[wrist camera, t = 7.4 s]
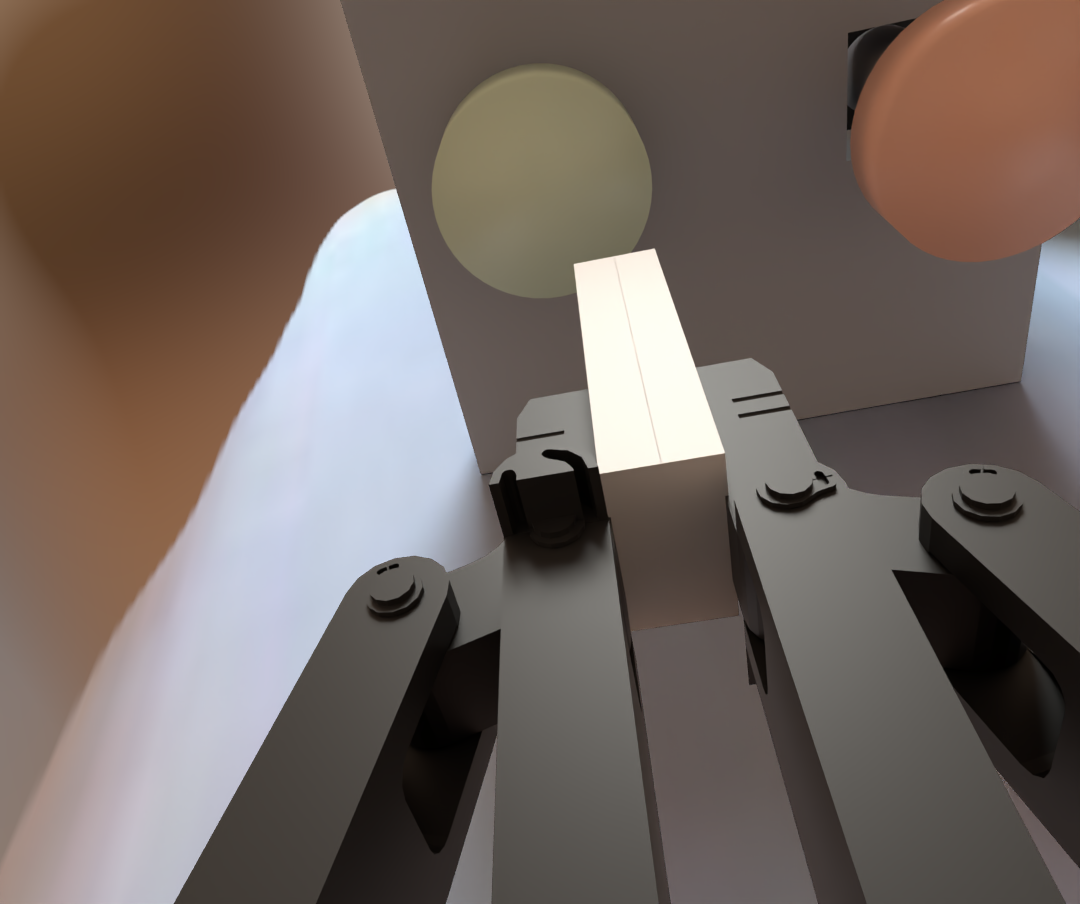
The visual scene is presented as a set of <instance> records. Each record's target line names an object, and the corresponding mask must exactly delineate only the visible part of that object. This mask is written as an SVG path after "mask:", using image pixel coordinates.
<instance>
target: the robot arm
mask: <svg viewBox="0 0 1080 904" xmlns="http://www.w3.org/2000/svg"><path fill="white" fill-rule="evenodd" d="M574 271H575V279H576V288H577V296H578V305H579V313H580V321H581V330H582V338H583V347H584V355H585V364H586V372H587V381H588V389H586V390H580V391H574V392H569V393H563V394H557V395H552V396H546V397H540V398H535V399H530V400H529V401H528V403H527V404H526V406H525V407H524V409H523V410H522V412H521V413H520V415H519V416H518V418H517V437H516V439H517V442H516V454H515V455H513V456H511V457H509V458H507V459H506V460H505V461H504V462H503V463H502V464H501V465H500V466H499V467H498V468H497V469H496V470H495V471H494V472H493V475H492V477H491V480H490V483H489V487H490V491H491V494H492V498H493V501H494V504H495V508H496V511H497V515H498V518H499V521H500V525H501V528H502V532H503V535H504V541H503V542H502V543H501V544H500V545H499V546H498V547H497V548H496V549H494V550H493V551H492V552H490V553H489V554H488V555H486V556H485V557H483V558H481V559H479V560H477V561H475V562H473V563H470V564H468V565H465V566H463V567H460V568H458V569H455V570H453V571H451V572H448V573H446V571H445V569H444V567H443V566H441V565H440V564H438V563H437V562H435V561H434V560H432V559H430V558H424V557H418V556H410V557H402V558H395V559H392V560H389V561H387V562H384V563H382V564H379V565H377V566H375V567H373V568H372V569H370V570H369V571H368V572H366V573H365V574H363V575H362V576H361V577H359V578H358V579H357V580H356V582H355V583H354V584H353V585H352V586H351V588H350V589H349V590H348V591H347V593H346V594H345V596H344V598H343V600H342V602H341V603H340V605H339V607H338V609H337V611H336V612H335V614H334V616H333V618H332V620H331V621H330V623H329V625H328V627H327V629H326V630H325V632H324V634H323V636H322V638H321V639H320V641H319V643H318V645H317V647H316V648H315V650H314V652H313V654H312V656H311V657H310V659H309V661H308V663H307V665H306V666H305V668H304V670H303V672H302V674H301V675H300V677H299V679H298V681H297V683H296V684H295V686H294V688H293V690H292V692H291V693H290V695H289V697H288V699H287V701H286V703H285V704H284V706H283V708H282V710H281V712H280V713H279V715H278V717H277V719H276V721H275V722H274V724H273V726H272V728H271V730H270V731H269V733H268V735H267V737H266V739H265V740H264V742H263V744H262V746H261V748H260V749H259V751H258V753H257V755H256V757H255V758H254V760H253V762H252V764H251V766H250V767H249V769H248V771H247V773H246V775H245V776H244V778H243V780H242V782H241V784H240V785H239V787H238V789H237V791H236V793H235V794H234V796H233V798H232V800H231V802H230V803H229V805H228V807H227V809H226V811H225V812H224V814H223V816H222V818H221V820H220V821H219V823H218V825H217V827H216V829H215V830H214V832H213V834H212V836H211V838H210V839H209V841H208V843H207V845H206V847H205V848H204V850H203V852H202V854H201V856H200V857H199V859H198V861H197V863H196V865H195V866H194V868H193V870H192V872H191V874H190V875H189V877H188V879H187V881H186V883H185V884H184V886H183V888H182V890H181V892H180V893H179V895H178V897H177V899H176V901H175V902H174V904H446V901H447V898H448V894H449V891H450V888H451V885H452V881H453V878H454V875H455V871H456V868H457V865H458V861H459V858H460V855H461V852H462V848H463V845H464V842H465V838H466V835H467V832H468V829H469V825H470V822H471V819H472V815H473V812H474V809H475V805H476V802H477V799H478V796H479V792H480V789H481V786H482V782H483V779H484V776H485V773H486V769H487V766H488V763H489V759H490V756H491V753H492V749H493V746H494V743H495V740H496V736H497V759H496V788H495V818H494V848H493V878H492V904H671V902H670V895H669V888H668V881H667V874H666V867H665V860H664V853H663V846H662V839H661V832H660V825H659V818H658V811H657V804H656V797H655V790H654V783H653V776H652V769H651V762H650V755H649V747H648V740H647V733H646V726H645V719H644V712H643V705H642V698H641V691H640V684H639V677H638V670H637V663H636V658H635V652H634V647H633V642H632V637H631V631H636V630H643V629H650V628H657V627H664V626H670V625H677V624H684V623H691V622H698V621H705V620H712V619H718V618H725V617H732V616H739V609H738V600H739V604H740V607H741V610H742V614H743V617H744V627H745V640H746V652H747V664H748V676H749V685H752V684H757V687H758V691H759V694H760V698H761V701H762V705H763V708H764V712H765V716H766V719H767V723H768V726H769V730H770V733H771V737H772V740H773V744H774V748H775V751H776V755H777V758H778V762H779V765H780V769H781V772H782V776H783V780H784V783H785V787H786V790H787V794H788V797H789V801H790V805H791V808H792V812H793V815H794V819H795V822H796V826H797V829H798V833H799V837H800V840H801V844H802V847H803V851H804V854H805V858H806V862H807V865H808V869H809V872H810V876H811V879H812V883H813V886H814V890H815V894H816V897H817V901H818V904H1066V903H1065V901H1064V899H1063V897H1062V895H1061V893H1060V891H1059V889H1058V888H1057V886H1056V884H1055V882H1054V880H1053V878H1052V876H1051V874H1050V872H1049V870H1048V868H1047V867H1046V865H1045V863H1044V861H1043V859H1042V857H1041V855H1040V853H1039V851H1038V849H1037V847H1036V846H1035V844H1034V842H1033V840H1032V838H1031V836H1030V834H1029V832H1028V830H1027V828H1026V826H1025V824H1024V823H1023V821H1022V819H1021V817H1020V815H1019V813H1018V811H1017V809H1016V807H1015V805H1014V803H1013V802H1012V800H1011V798H1010V796H1009V794H1008V792H1007V790H1006V788H1005V786H1004V784H1003V782H1002V781H1001V779H1000V777H999V775H998V773H997V771H998V772H999V773H1000V774H1001V775H1002V776H1003V778H1004V779H1005V780H1006V781H1007V782H1008V784H1009V785H1010V786H1011V787H1012V788H1013V790H1014V791H1015V792H1016V793H1017V794H1018V795H1019V797H1020V798H1021V799H1022V800H1023V801H1024V803H1025V804H1026V805H1027V806H1028V807H1029V809H1030V810H1031V811H1032V812H1033V813H1034V815H1035V816H1036V817H1037V818H1038V819H1039V820H1040V822H1041V823H1042V824H1043V825H1044V826H1045V828H1046V829H1047V830H1048V831H1049V832H1050V834H1051V835H1052V836H1053V837H1054V838H1055V839H1056V841H1057V842H1058V843H1059V844H1060V845H1061V847H1062V848H1063V849H1064V850H1065V851H1066V853H1067V854H1068V855H1069V856H1070V857H1071V859H1072V860H1073V861H1074V862H1075V863H1076V864H1077V866H1078V867H1079V868H1080V511H1078V510H1077V509H1076V508H1074V507H1073V506H1072V505H1070V504H1069V503H1067V502H1066V501H1065V500H1063V499H1062V498H1061V497H1059V496H1058V495H1057V494H1055V493H1054V492H1052V491H1051V490H1050V489H1048V488H1047V487H1046V486H1044V485H1043V484H1042V483H1040V482H1039V481H1037V480H1035V479H1033V478H1031V477H1029V476H1027V475H1025V474H1023V473H1022V472H1020V471H1017V470H1013V469H1009V468H1005V467H1001V466H997V465H984V464H966V465H961V466H956V467H950V468H946V469H944V470H943V471H941V472H939V473H937V474H935V475H933V476H931V477H930V478H929V479H928V481H927V482H926V483H925V485H924V486H923V488H922V489H921V497H905V496H887V495H878V494H870V493H865V492H861V491H858V490H854V489H850V488H848V486H847V484H846V482H845V481H844V480H843V479H842V478H841V477H840V475H839V474H838V473H837V472H836V471H835V470H834V469H832V468H830V467H828V466H826V465H823V464H821V463H819V462H818V461H817V459H816V457H815V455H814V453H813V451H812V449H811V447H810V445H809V443H808V441H807V439H806V437H805V435H804V433H803V431H802V429H801V427H800V425H799V423H798V421H797V419H796V417H795V415H794V413H793V411H792V409H791V410H790V405H789V403H788V401H787V399H786V397H785V395H784V394H783V393H782V389H781V387H780V385H779V383H778V381H777V379H776V377H775V375H774V373H773V372H772V371H771V370H769V369H768V368H766V367H765V366H763V365H761V364H760V363H758V362H757V361H755V360H754V359H752V358H748V359H742V360H737V361H731V362H725V363H720V364H714V365H708V366H703V367H697V368H696V367H695V364H694V361H693V359H692V356H691V353H690V350H689V347H688V344H687V341H686V338H685V335H684V332H683V330H682V327H681V324H680V321H679V318H678V315H677V312H676V309H675V306H674V303H673V300H672V298H671V295H670V292H669V289H668V286H667V283H666V280H665V277H664V274H663V271H662V269H661V266H660V263H659V260H658V257H657V254H656V251H655V249H650V250H644V251H639V252H634V253H629V254H624V255H618V256H613V257H608V258H603V259H598V260H592V261H587V262H582V263H577V264H574ZM995 768H996V769H997V771H996V769H995Z"/></svg>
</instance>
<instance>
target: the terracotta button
mask: <svg viewBox="0 0 1080 904" xmlns="http://www.w3.org/2000/svg"><path fill="white" fill-rule="evenodd" d="M847 105H848V106H849V107H850V108H852V109H853V110H855V112H854V117H853V122H852V127H851V139H850V150H851V161H852V166H853V172H854V175H855V178H856V181H857V183H858V186H859V188H860V190H861V192H862V193H863V195H864V197H865V199H866V200H867V201H868V202H869V204H870V205H871V206H872V208H873V209H875V210H876V211H877V212H878V213H879V214H880V215H881V216H882V217H883V218H884V219H885V220H886V221H888V222H889V223H890V224H891V225H892V226H893V227H894V228H895V229H896V230H897V231H898V232H899V233H901V234H902V235H903V236H904V237H905V238H906V239H907V240H908V241H909V242H910V243H911V244H913V245H915V246H916V247H918V248H919V249H921V250H922V251H924V252H926V253H929V254H931V255H933V256H936V257H939V258H943V259H947V260H951V261H959V262H983V261H991V260H997V259H1001V258H1005V257H1009V256H1013V255H1016V254H1018V253H1021V252H1024V251H1027V250H1029V249H1031V248H1033V247H1035V246H1038V245H1040V244H1042V243H1044V242H1046V241H1047V240H1049V239H1051V238H1052V237H1054V236H1056V235H1057V234H1059V233H1060V232H1062V231H1063V230H1065V229H1066V228H1067V227H1069V226H1070V225H1071V224H1073V223H1074V222H1075V221H1077V220H1078V219H1079V218H1080V0H944V1H942V2H940V3H938V4H937V5H935V6H933V7H931V8H930V9H929V10H927V11H926V12H925V13H923V14H922V15H920V16H919V17H918V18H916V19H915V20H914V21H913V22H912V23H911V24H910V25H908V26H907V27H906V28H903V27H900V26H896V25H882V26H878V27H875V28H872V29H870V30H868V31H866V32H865V33H863V34H862V35H861V36H859V37H858V38H857V39H856V40H855V41H854V42H853V43H852V44H851V45H850V47H849V48H848V70H847Z"/></svg>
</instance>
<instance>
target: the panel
mask: <svg viewBox="0 0 1080 904" xmlns="http://www.w3.org/2000/svg"><path fill="white" fill-rule="evenodd" d="M340 1H341V4H342V8H343V11H344V14H345V18H346V21H347V24H348V28H349V31H350V34H351V38H352V41H353V44H354V48H355V51H356V55H357V58H358V61H359V65H360V68H361V72H362V75H363V78H364V82H365V85H366V89H367V92H368V95H369V99H370V102H371V105H372V109H373V112H374V115H375V119H376V122H377V126H378V129H379V132H380V136H381V139H382V142H383V146H384V149H385V153H386V156H387V159H388V163H389V166H390V169H391V173H392V176H393V180H394V183H395V186H396V190H397V193H398V196H399V200H400V203H401V207H402V210H403V213H404V217H405V220H406V223H407V227H408V230H409V233H410V237H411V240H412V244H413V247H414V250H415V254H416V257H417V260H418V264H419V267H420V271H421V274H422V277H423V281H424V284H425V287H426V291H427V294H428V298H429V301H430V304H431V308H432V311H433V314H434V318H435V321H436V325H437V328H438V331H439V335H440V338H441V341H442V345H443V348H444V351H445V355H446V358H447V362H448V365H449V368H450V372H451V375H452V378H453V382H454V385H455V389H456V392H457V395H458V399H459V402H460V405H461V409H462V412H463V416H464V419H465V422H466V426H467V429H468V432H469V436H470V439H471V443H472V446H473V449H474V453H475V456H476V459H477V463H478V466H479V469H480V473H481V474H486V473H491V472H494V471H495V470H496V469H497V468H498V467H499V466H500V465H501V464H502V463H503V462H504V461H505V460H506V459H507V458H509V457H511V456H513V455H515V454H516V442H517V439H516V437H517V418H518V416H519V415H520V413H521V412H522V410H523V409H524V407H525V406H526V404H527V403H528V401H529V400H530V399H535V398H540V397H546V396H552V395H557V394H563V393H569V392H574V391H580V390H586V389H588V381H587V372H586V364H585V355H584V347H583V338H582V330H581V321H580V313H579V305H578V296H577V293H574V294H570V295H566V296H562V297H554V298H528V297H521V296H517V295H512V294H509V293H506V292H503V291H501V290H498V289H496V288H494V287H492V286H490V285H488V284H486V283H484V282H483V281H481V280H480V279H478V278H477V277H475V276H474V275H473V274H472V273H471V272H469V271H468V270H467V269H466V268H465V267H464V266H463V265H462V264H461V263H460V262H459V261H458V259H457V258H456V257H455V256H454V255H453V253H452V252H451V250H450V249H449V247H448V246H447V244H446V242H445V240H444V238H443V236H442V234H441V232H440V229H439V227H438V224H437V221H436V218H435V213H434V208H433V202H432V175H433V169H434V164H435V160H436V156H437V153H438V150H439V147H440V144H441V140H442V137H443V134H444V131H445V128H446V126H447V124H448V122H449V120H450V118H451V116H452V114H453V113H454V111H455V110H456V108H457V107H458V105H459V104H460V103H461V101H462V100H463V99H464V98H465V97H466V96H467V95H468V94H469V93H470V92H471V91H472V90H473V89H474V88H475V87H477V86H478V85H479V84H480V83H482V82H483V81H485V80H486V79H488V78H489V77H491V76H493V75H495V74H497V73H499V72H501V71H503V70H506V69H509V68H512V67H516V66H519V65H526V64H533V63H549V64H556V65H563V66H566V67H570V68H573V69H576V70H579V71H581V72H583V73H585V74H587V75H590V76H591V77H593V78H594V79H596V80H597V81H599V82H601V83H602V84H603V85H604V86H605V87H607V88H608V89H609V90H610V91H611V92H612V93H613V94H614V95H615V96H616V97H617V98H618V99H619V100H620V102H621V103H622V104H623V106H624V107H625V109H626V110H627V112H628V113H629V115H630V117H631V119H632V121H633V123H634V125H635V127H636V129H637V131H638V133H639V136H640V138H641V140H642V142H643V144H644V147H645V150H646V153H647V156H648V159H649V164H650V169H651V175H652V198H651V206H650V211H649V215H648V219H647V222H646V225H645V228H644V230H643V232H642V234H641V236H640V238H639V240H638V242H637V244H636V246H635V247H634V249H633V250H632V252H631V253H634V252H639V251H644V250H650V249H655V251H656V254H657V257H658V260H659V263H660V266H661V269H662V271H663V274H664V277H665V280H666V283H667V286H668V289H669V292H670V295H671V298H672V300H673V303H674V306H675V309H676V312H677V315H678V318H679V321H680V324H681V327H682V330H683V332H684V335H685V338H686V341H687V344H688V347H689V350H690V353H691V356H692V359H693V361H694V364H695V367H696V368H697V367H703V366H708V365H714V364H720V363H725V362H731V361H737V360H742V359H748V358H752V359H754V360H755V361H757V362H758V363H760V364H761V365H763V366H765V367H766V368H768V369H769V370H771V371H772V372H773V373H774V375H775V377H776V379H777V381H778V383H779V385H780V387H781V389H782V393H783V394H784V395H785V397H786V399H787V401H788V403H789V405H790V410H791V409H792V411H793V413H794V415H795V417H796V419H797V420H799V419H804V418H810V417H816V416H822V415H828V414H833V413H839V412H845V411H851V410H857V409H862V408H868V407H874V406H880V405H885V404H891V403H897V402H903V401H909V400H914V399H920V398H926V397H932V396H938V395H943V394H949V393H955V392H961V391H967V390H972V389H978V388H984V387H990V386H996V385H1001V384H1007V383H1013V382H1019V381H1021V377H1022V370H1023V364H1024V357H1025V350H1026V344H1027V337H1028V331H1029V324H1030V317H1031V311H1032V304H1033V298H1034V291H1035V285H1036V278H1037V271H1038V265H1039V258H1040V252H1041V245H1042V244H1040V245H1038V246H1035V247H1033V248H1031V249H1029V250H1027V251H1024V252H1021V253H1018V254H1016V255H1013V256H1009V257H1005V258H1001V259H997V260H991V261H983V262H959V261H951V260H947V259H943V258H939V257H936V256H933V255H931V254H929V253H926V252H924V251H922V250H921V249H919V248H918V247H916V246H915V245H913V244H911V243H910V242H909V241H908V240H907V239H906V238H905V237H904V236H903V235H902V234H901V233H899V232H898V231H897V230H896V229H895V228H894V227H893V226H892V225H891V224H890V223H889V222H888V221H886V220H885V219H884V218H883V217H882V216H881V215H880V214H879V213H878V212H877V211H876V210H875V209H873V208H872V206H871V205H870V204H869V202H868V201H867V200H866V199H865V197H864V195H863V193H862V192H861V190H860V188H859V186H858V183H857V181H856V178H855V175H854V172H853V166H852V161H851V150H850V139H851V130H847V70H848V33H850V32H854V31H859V30H864V29H868V28H873V27H878V26H882V25H887V24H892V23H896V22H901V21H905V20H910V19H915V18H918V17H919V16H920V15H922V14H923V13H925V12H926V11H927V10H929V9H930V8H931V7H933V6H935V5H937V4H938V3H940V2H942V1H944V0H340Z"/></svg>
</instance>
